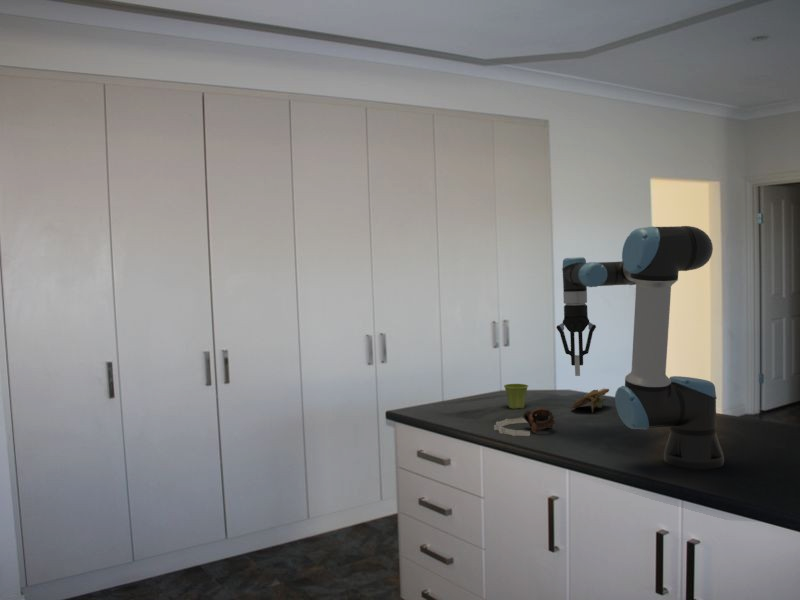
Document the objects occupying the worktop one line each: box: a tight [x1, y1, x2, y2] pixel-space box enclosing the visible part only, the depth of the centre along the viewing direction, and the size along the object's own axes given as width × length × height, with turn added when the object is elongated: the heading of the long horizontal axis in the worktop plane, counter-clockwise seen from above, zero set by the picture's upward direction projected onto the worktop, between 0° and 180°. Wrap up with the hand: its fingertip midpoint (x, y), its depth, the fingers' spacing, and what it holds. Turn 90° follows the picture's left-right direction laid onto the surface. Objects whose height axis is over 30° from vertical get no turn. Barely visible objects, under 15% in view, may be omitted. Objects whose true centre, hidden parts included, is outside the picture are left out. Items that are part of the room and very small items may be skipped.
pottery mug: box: [523, 408, 556, 434], centre depth 226 cm, size 12×9×8 cm
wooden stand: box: [570, 387, 610, 414], centre depth 253 cm, size 18×14×8 cm
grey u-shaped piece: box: [493, 417, 531, 437], centre depth 231 cm, size 21×13×2 cm, turn 163°
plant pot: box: [503, 383, 529, 410], centre depth 264 cm, size 9×9×9 cm
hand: (577, 375), depth 223 cm, fingers closed
